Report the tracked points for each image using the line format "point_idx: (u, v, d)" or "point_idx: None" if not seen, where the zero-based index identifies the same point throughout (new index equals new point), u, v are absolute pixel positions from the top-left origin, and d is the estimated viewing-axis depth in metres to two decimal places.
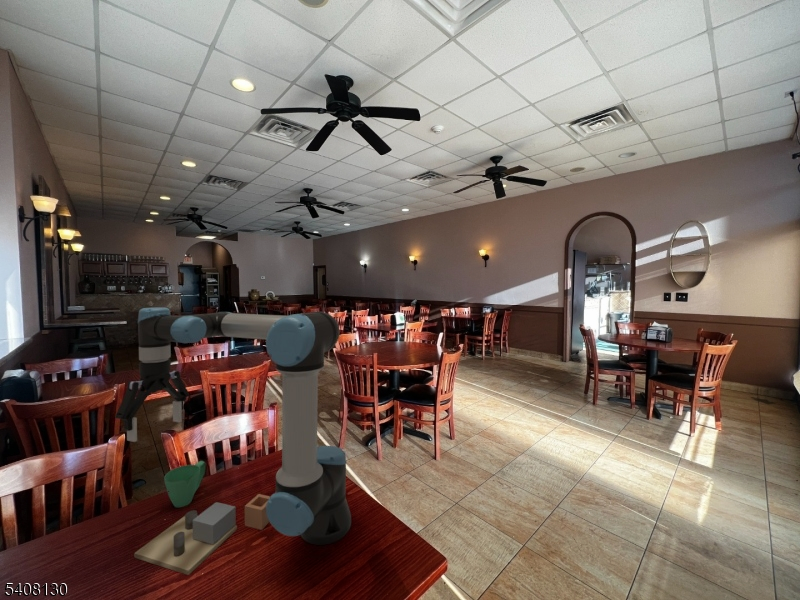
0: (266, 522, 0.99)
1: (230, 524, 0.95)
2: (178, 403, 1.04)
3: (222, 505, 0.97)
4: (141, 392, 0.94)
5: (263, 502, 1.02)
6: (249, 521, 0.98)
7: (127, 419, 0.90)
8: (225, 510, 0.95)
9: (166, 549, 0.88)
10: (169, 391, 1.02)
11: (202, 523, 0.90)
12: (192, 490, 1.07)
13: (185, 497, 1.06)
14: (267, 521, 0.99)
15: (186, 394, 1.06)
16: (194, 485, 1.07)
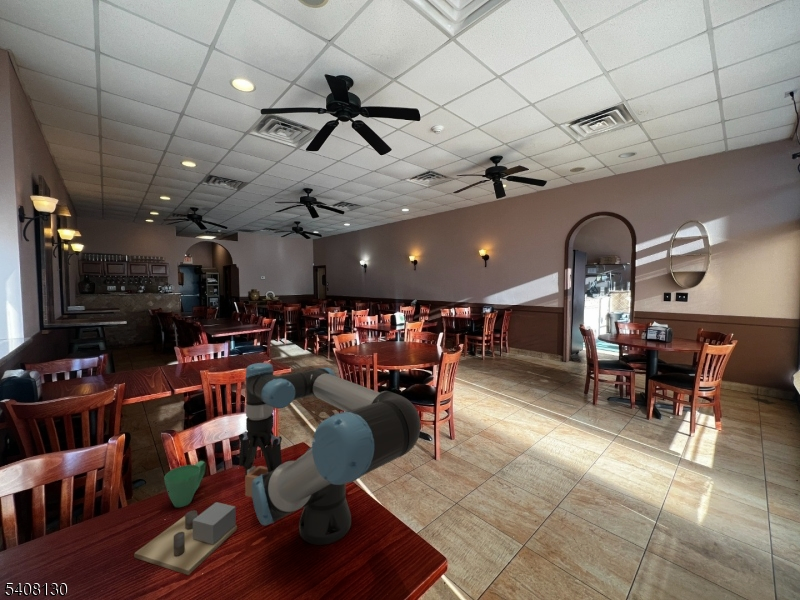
0: None
1: (230, 524, 0.95)
2: None
3: (222, 505, 0.97)
4: None
5: (264, 473, 1.02)
6: (250, 491, 0.97)
7: None
8: (225, 510, 0.95)
9: (166, 549, 0.88)
10: None
11: (202, 523, 0.90)
12: (192, 490, 1.07)
13: (185, 497, 1.06)
14: None
15: (274, 469, 0.97)
16: (194, 485, 1.07)
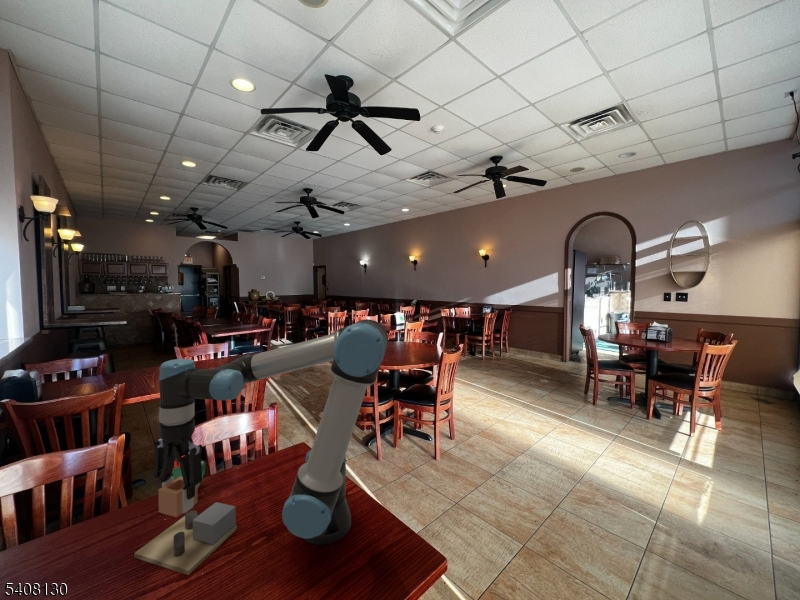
0: None
1: (230, 524, 0.95)
2: None
3: (222, 505, 0.97)
4: None
5: None
6: (163, 507, 0.84)
7: None
8: (225, 510, 0.95)
9: (166, 549, 0.88)
10: None
11: (202, 523, 0.90)
12: None
13: None
14: None
15: (191, 482, 0.83)
16: None
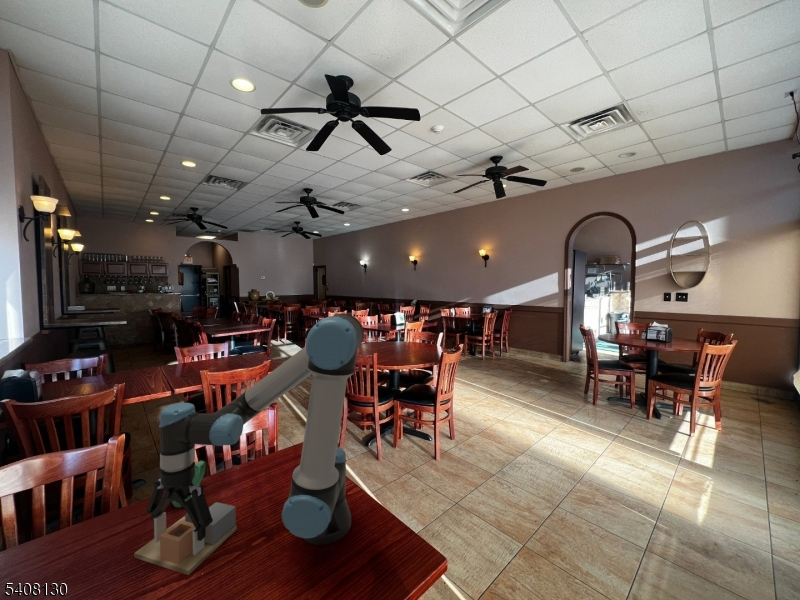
0: (185, 554, 0.85)
1: (230, 524, 0.95)
2: None
3: (222, 505, 0.97)
4: None
5: (185, 530, 0.89)
6: (165, 554, 0.84)
7: None
8: (225, 510, 0.95)
9: None
10: None
11: None
12: None
13: None
14: (187, 553, 0.86)
15: (201, 525, 0.83)
16: (194, 485, 1.07)
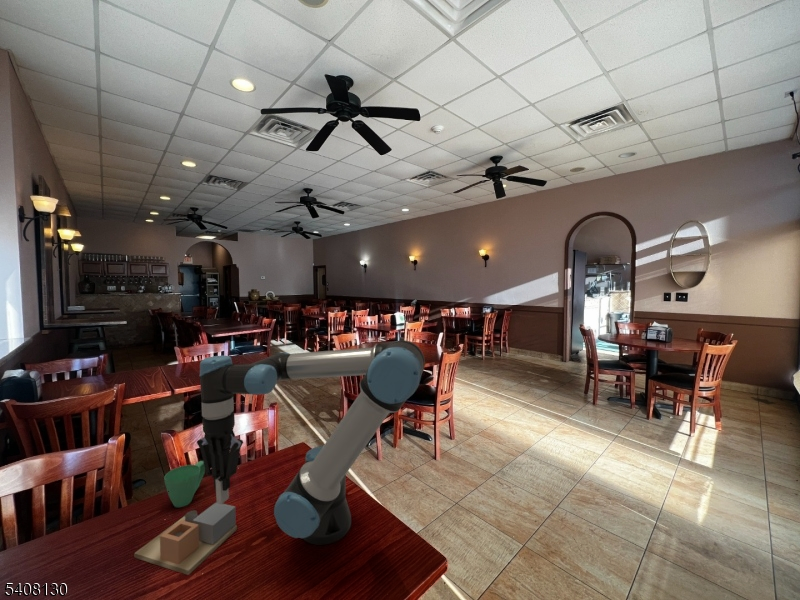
0: (185, 554, 0.85)
1: (230, 524, 0.95)
2: None
3: (222, 505, 0.97)
4: None
5: (185, 530, 0.89)
6: (165, 554, 0.84)
7: None
8: (225, 510, 0.95)
9: None
10: None
11: (202, 523, 0.90)
12: (192, 490, 1.07)
13: (185, 497, 1.06)
14: (187, 553, 0.86)
15: (227, 474, 0.87)
16: (194, 485, 1.07)
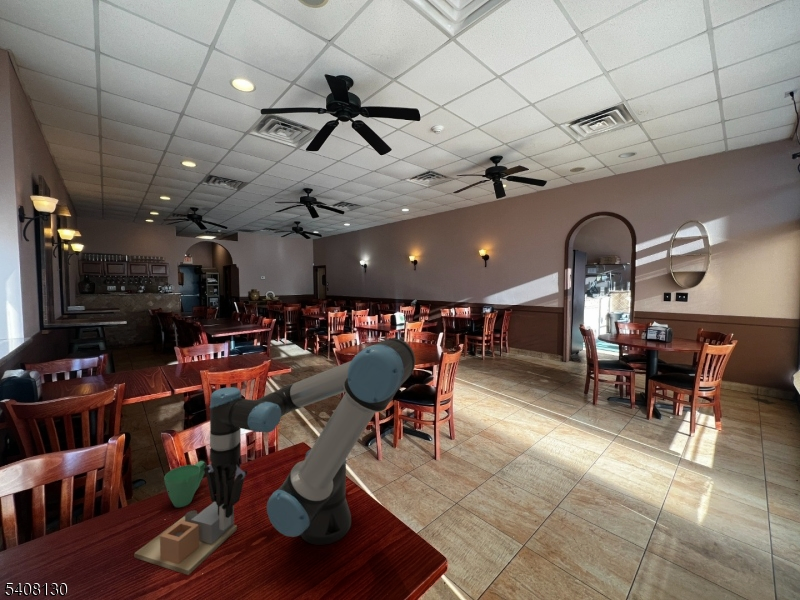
0: (185, 554, 0.85)
1: None
2: None
3: None
4: None
5: (185, 530, 0.89)
6: (165, 554, 0.84)
7: None
8: None
9: None
10: None
11: (200, 523, 0.90)
12: (192, 490, 1.07)
13: (185, 497, 1.06)
14: (187, 553, 0.86)
15: (230, 502, 0.91)
16: (194, 485, 1.07)
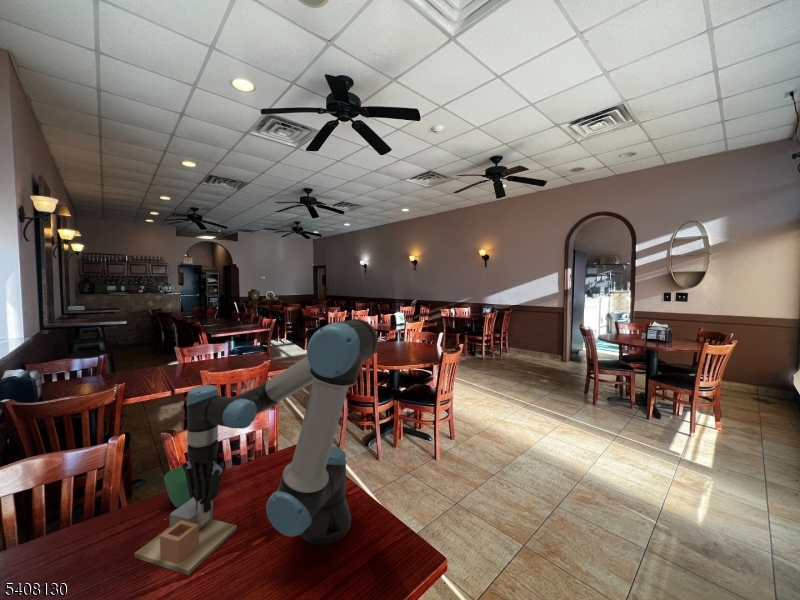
0: (185, 554, 0.85)
1: None
2: None
3: None
4: None
5: (185, 530, 0.89)
6: (165, 554, 0.84)
7: None
8: None
9: None
10: None
11: (179, 517, 0.92)
12: None
13: (185, 497, 1.06)
14: (187, 553, 0.86)
15: (208, 498, 0.93)
16: None
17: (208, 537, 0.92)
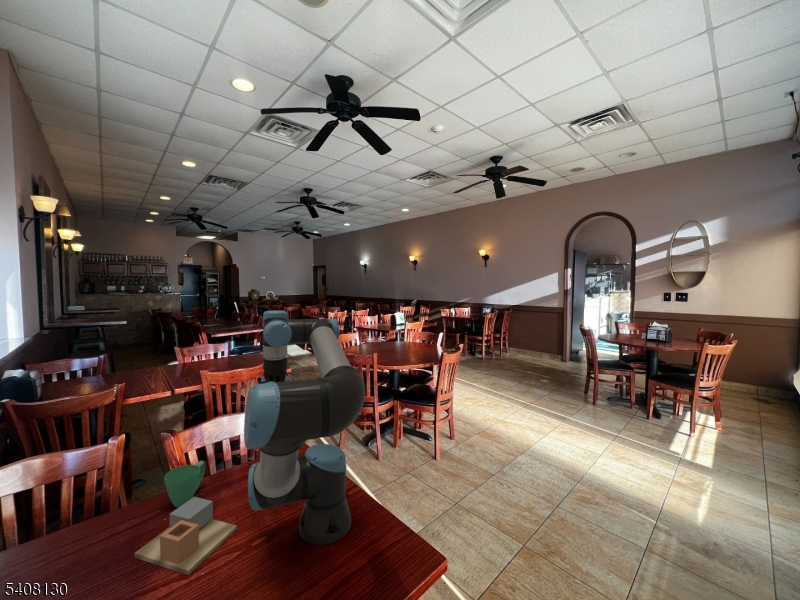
0: (185, 554, 0.85)
1: (208, 518, 0.97)
2: None
3: (200, 500, 0.99)
4: None
5: (185, 530, 0.89)
6: (165, 554, 0.84)
7: None
8: (202, 504, 0.97)
9: None
10: None
11: (178, 517, 0.92)
12: (192, 490, 1.07)
13: (185, 497, 1.06)
14: (187, 553, 0.86)
15: None
16: (194, 485, 1.07)
17: (208, 537, 0.92)
